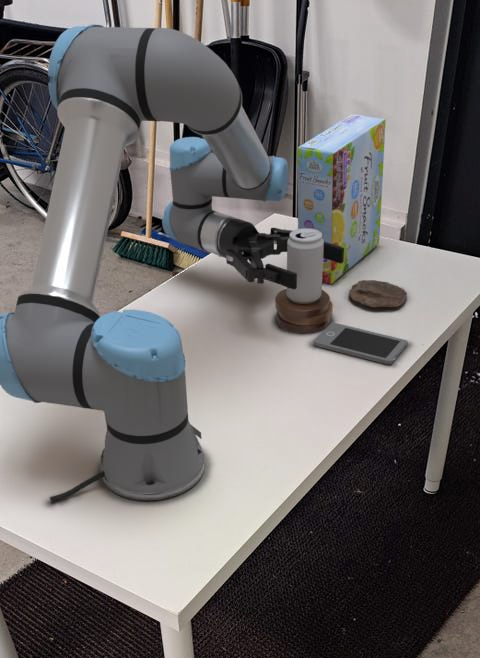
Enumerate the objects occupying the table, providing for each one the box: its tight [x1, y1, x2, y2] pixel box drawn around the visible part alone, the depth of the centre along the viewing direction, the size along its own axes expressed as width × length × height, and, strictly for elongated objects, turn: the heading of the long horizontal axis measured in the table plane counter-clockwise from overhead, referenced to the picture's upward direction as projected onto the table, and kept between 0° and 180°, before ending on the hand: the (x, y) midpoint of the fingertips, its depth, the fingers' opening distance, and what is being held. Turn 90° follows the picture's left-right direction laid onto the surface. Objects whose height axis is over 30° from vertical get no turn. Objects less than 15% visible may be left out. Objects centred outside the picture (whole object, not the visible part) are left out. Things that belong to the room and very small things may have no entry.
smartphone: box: [312, 322, 408, 365], centre depth 152 cm, size 15×8×1 cm, turn 60°
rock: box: [348, 279, 408, 308], centre depth 165 cm, size 11×12×3 cm
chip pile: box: [274, 287, 334, 334], centre depth 158 cm, size 10×10×4 cm
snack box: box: [296, 113, 387, 285], centre depth 170 cm, size 22×9×26 cm, turn 147°
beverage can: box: [286, 228, 324, 304], centre depth 153 cm, size 6×6×12 cm
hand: (319, 268), depth 150 cm, fingers open, 13 cm apart
